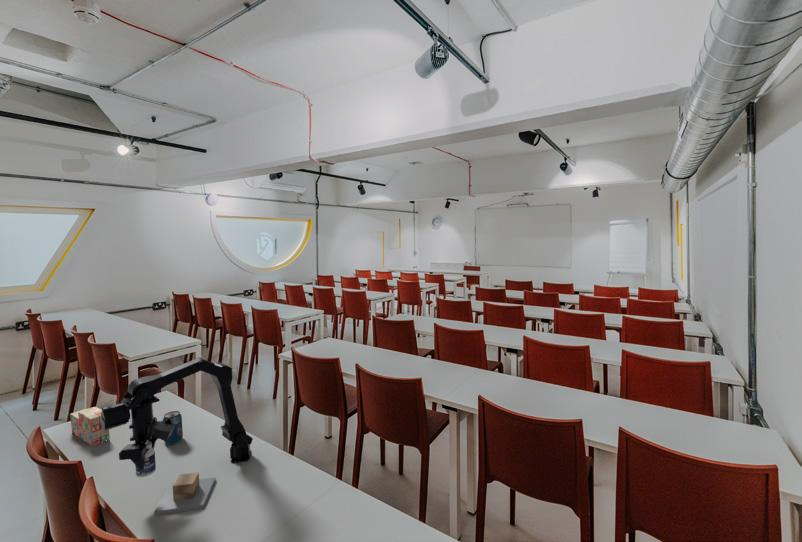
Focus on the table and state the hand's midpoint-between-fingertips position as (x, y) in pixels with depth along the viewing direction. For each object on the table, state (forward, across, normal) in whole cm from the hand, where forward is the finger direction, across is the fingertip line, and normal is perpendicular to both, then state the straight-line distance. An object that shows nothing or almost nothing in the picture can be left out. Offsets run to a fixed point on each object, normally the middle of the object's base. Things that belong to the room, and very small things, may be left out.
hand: (145, 463), depth 121 cm
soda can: (+13, +38, +6) cm, 41 cm away
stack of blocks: (+13, +50, +43) cm, 67 cm away
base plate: (+13, -1, -12) cm, 17 cm away
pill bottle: (+3, 0, 0) cm, 3 cm away
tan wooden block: (+11, -1, -12) cm, 17 cm away
